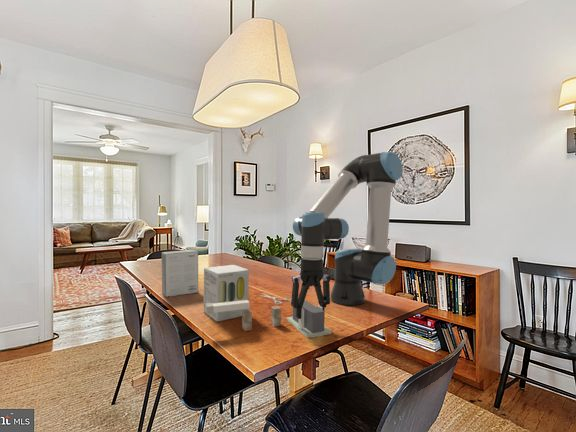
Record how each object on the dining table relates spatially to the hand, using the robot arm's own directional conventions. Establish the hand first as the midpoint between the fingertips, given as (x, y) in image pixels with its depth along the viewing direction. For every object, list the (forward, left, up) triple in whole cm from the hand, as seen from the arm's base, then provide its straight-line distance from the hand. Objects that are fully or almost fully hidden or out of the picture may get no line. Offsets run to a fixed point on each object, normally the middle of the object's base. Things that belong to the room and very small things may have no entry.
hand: (310, 326), depth 102 cm
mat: (-1, -3, -1) cm, 3 cm away
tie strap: (+26, -9, +6) cm, 28 cm away
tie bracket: (+14, -9, -1) cm, 17 cm away
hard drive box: (+38, -62, -1) cm, 73 cm away
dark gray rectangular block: (0, -3, 0) cm, 3 cm away
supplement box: (+23, -26, -1) cm, 35 cm away
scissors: (-1, -39, -2) cm, 39 cm away
